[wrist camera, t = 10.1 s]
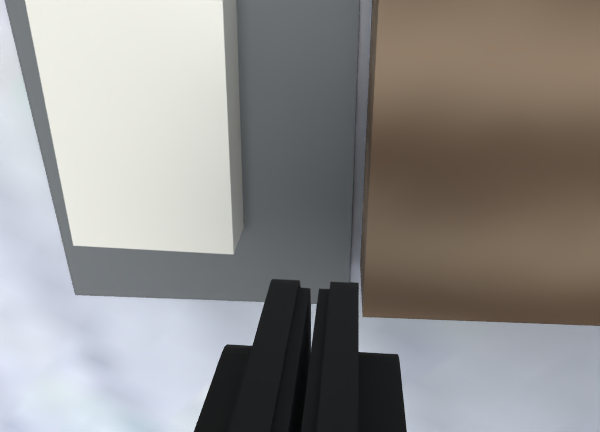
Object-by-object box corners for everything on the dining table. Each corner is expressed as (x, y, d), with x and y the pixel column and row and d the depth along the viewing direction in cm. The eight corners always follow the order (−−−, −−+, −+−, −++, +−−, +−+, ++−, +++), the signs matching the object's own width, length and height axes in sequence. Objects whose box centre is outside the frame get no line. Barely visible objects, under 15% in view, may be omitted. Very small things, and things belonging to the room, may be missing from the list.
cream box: (73, 245, 23) (97, 219, 25) (233, 254, 22) (243, 227, 25) (23, -5, 18) (58, -9, 21) (222, 0, 18) (236, -5, 20)
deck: (708, 276, 24) (771, 332, 21) (360, 266, 26) (362, 316, 22) (843, -68, 18) (966, -74, 15) (375, -61, 19) (381, -65, 16)
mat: (348, 300, 26) (348, 304, 26) (78, 290, 27) (75, 295, 27) (363, -125, 18) (364, -127, 18) (-17, -116, 20) (-24, -117, 19)
